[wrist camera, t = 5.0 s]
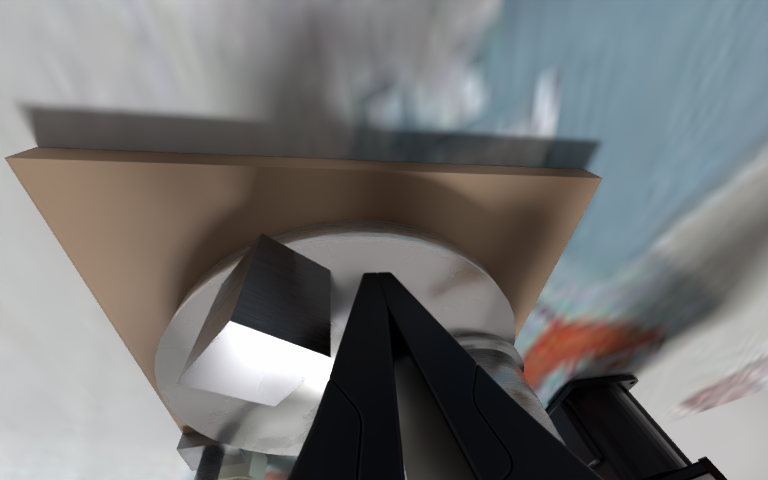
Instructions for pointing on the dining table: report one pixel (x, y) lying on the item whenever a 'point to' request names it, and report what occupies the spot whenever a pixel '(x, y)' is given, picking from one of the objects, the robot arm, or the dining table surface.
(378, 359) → the robot arm
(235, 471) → the valve
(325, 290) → the turntable
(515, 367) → the cover
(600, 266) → the dining table surface
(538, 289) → the base board
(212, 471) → the dial gauge
